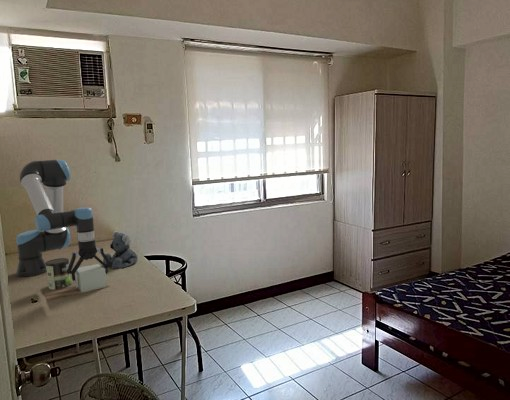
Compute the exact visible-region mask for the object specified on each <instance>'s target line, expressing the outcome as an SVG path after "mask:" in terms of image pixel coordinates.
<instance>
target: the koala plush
mask: <svg viewBox="0 0 510 400" xmlns="http://www.w3.org/2000/svg"><path fill="white" fill-rule="evenodd" d="M112 237H113V238H112V240H111V243H110V246H109V247H110V249H111V250H113V251H114V253H113V255H111V254H110V253H104V254H105V255H106V257H107V259H108V260H109V262H110V263H111V265H110V266H109V267H111V268H112V269H113V270H121V269H124V268H126V267H131V266H132V265H133V264H134V263H136V262H137V261H138V259H139V257H138V254H137V252H135V251H134V250H133V249H131V247H130V243H132V240H131V236H130V235H129V234H128V233H127V234H126V233H125V234H124V233H123V232H119V231H118V230H117V231H116V230H115V231H114V232H113V233H112ZM102 262H104V263H105V264H107V263H106V261H105V260H104V258H103V260H102Z"/></svg>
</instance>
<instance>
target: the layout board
mask: <svg viewBox="0 0 510 400" xmlns="http://www.w3.org/2000/svg"><path fill="white" fill-rule="evenodd" d="M107 288H110V285H109V284H107V283H106V287H104V288H100V289H95V290H91V291H86V292H81V291H80V290H79V288H78V287H77V288H76V286H75V285H74V286H70V287H69V286H68V287H65V288H62V289H54V290H50V291H46V292H43V295H44V297H45V299H46V301H47V302H49V301H50V302H51V301H54V300H57V299H62V298H67V297H71V296H76V295H81V294H85V293H89V292H93V291H98V290H102V289H107Z"/></svg>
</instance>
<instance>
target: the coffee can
mask: <svg viewBox="0 0 510 400" xmlns="http://www.w3.org/2000/svg"><path fill="white" fill-rule="evenodd" d="M45 264H46V270H47V271H46V277H47V286H48V289H50V290H59V289H64V288H69V286H70V287H71V285H72V281H71V280H72V278H71V274H68V273H67V270H68V267H69V264H70V260H69V258H67V257H65V258H63V257H60V258H59V257H58V258H53V259H49V260H47V261H45Z"/></svg>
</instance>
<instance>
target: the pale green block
mask: <svg viewBox="0 0 510 400" xmlns="http://www.w3.org/2000/svg"><path fill="white" fill-rule="evenodd" d="M103 267H104V266H102V265H101V264H99V263H96V264H90V265H87V266H86V265H85V266H81V267H80V266H79V268H78V269H77V271H76V272H75V273H76V274H77V281H78V288H79V290H80V291H81V292H85V293H87V292H86V291H90V292H92V291H91V290H94V291H96V290H95V289H99V290H101V289H100V288H103V289H105V288H104V287H106V284H107V281H105V271H104V268H103Z"/></svg>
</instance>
